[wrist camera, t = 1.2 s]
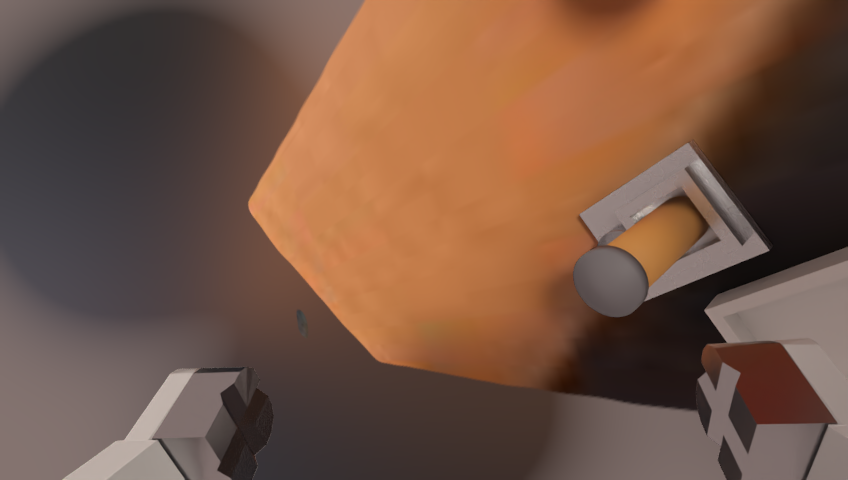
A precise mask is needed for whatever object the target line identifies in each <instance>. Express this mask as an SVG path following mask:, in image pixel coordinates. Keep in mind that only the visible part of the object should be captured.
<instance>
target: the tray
mask: <svg viewBox="0 0 848 480" xmlns="http://www.w3.org/2000/svg"><path fill="white" fill-rule="evenodd" d="M704 311H705V312H706V314H707V315H708V317H709V318H710V319H711V321H712V322H713V324H714V325H715V326H716V328H717V329H718V331H719V332H720V333H721V335H722V336H723V337H724V339H725V340H726V342H727V343H735V342H753V341H774V340H788V339H806V338H810V339H812V340H813V341H815V342H817V343H818V344H819V346H820V347H821V348H822V349H823V350H824V352H825V353H826V354H827V355H828V357H829V358H830V359H831V360H832V361H833V363H834V364H835V365H836V366H837V368H838V369H839V370H840V371H841V373H842V374H843V375H844V376H845V377H846V379H847V380H848V247H846V248H843V249H840V250H838V251H835V252H832V253H829V254H827V255H824V256H821V257H819V258H816V259H813V260H810V261H808V262H805V263H802V264H799V265H797V266H794V267H791V268H789V269H786V270H783V271H780V272H778V273H775V274H772V275H769V276H767V277H764V278H761V279H758V280H756V281H753V282H750V283H748V284H745V285H742V286H739V287H737V288H734V289H731V290H728V291H726V292H723V293H720V294H718V295H716V296H715V298H714V299H713V300H712V301H711V302H710V304H709V305H708V306H707V307H706V309H705V310H704Z"/></svg>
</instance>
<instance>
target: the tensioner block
mask: <svg viewBox="0 0 848 480" xmlns="http://www.w3.org/2000/svg"><path fill="white" fill-rule="evenodd" d="M678 196H684V197H689V198H690V199H691V201H692V202H693V204H694V205H695V206H696V208H697V209H698V210H699V212H700V213H701V214H702V216H703V217H704V218H705V220H706V221H707V222H708V224H709V227H708V230H707V232H706V233H705V234H704V235H703V236H702V237H701V238H700V239H699V240H698V241H697V242H696V243H695V244H694V245H693V246H692V247H691V248H690V249H689V250H688V251H687V252H686V253H685V254H684V255H683V256H682V257H681V258H680V259H678V260H677V261H676V262H675V263H674V264H673V265H672V266H671V267H670V268H669V269H668V270H667V271H666V272H665V273H664V274H663V275H662V276H661V277H660V278H659V279H658V280H657V281H656V282H654V283H653V284H652V285H651V286H650V287H649V290H648V294H647V297H646V299H645V300H644V301H647V300H649V299H651V298H654V297H656V296H659V295H661V294H664V293H666V292H669V291H671V290H674V289H676V288H679V287H681V286H684V285H686V284H688V283H691V282H693V281H696V280H698V279H701V278H703V277H706V276H708V275H711V274H713V273H716V272H718V271H721V270H723V269H725V268H728V267H730V266H733V265H735V264H738V263H740V262H743V261H745V260H748V259H750V258H753V257H755V256H758V255H760V254H762V253H765V252H767V251H770V249H771V248H772V247H773V245H772V243H771V242H770V241H769V239H768V238H767V237H766V235H765V234H764V233H763V231H762V230H761V229H760V227H759V226H758V225H757V223H756V222H755V221H754V219H753V218H752V217H751V216H750V214H749V213H748V212H747V210H746V209H745V208H744V206H743V205H742V204H741V202H740V201H739V200H738V198H737V197H736V196H735V194H734V193H733V192H732V190H731V189H730V188H729V186H728V185H727V184H726V183H725V181H724V180H723V179H722V177H721V176H720V175H719V173H718V172H717V171H716V169H715V168H714V167H713V165H712V164H711V163H710V161H709V160H708V159H707V157H706V156H705V155H704V154H703V152H702V151H701V150H700V148H699V147H698V146H697V144H696V143H695V142H694V140H691V141H690V142H688V143H687V144H685V145H684V146H682V147H681V148H679V149H678V150H676V151H675V152H673V153H672V154H670V155H669V156H667V157H665V158H664V159H662V160H661V161H659V162H658V163H656V164H655V165H653V166H652V167H650V168H649V169H647V170H646V171H644V172H643V173H641V174H640V175H638V176H637V177H635V178H634V179H632V180H631V181H629V182H628V183H626V184H625V185H623V186H622V187H620V188H619V189H617V190H615V191H614V192H612V193H611V194H609V195H608V196H606V197H605V198H603V199H602V200H600V201H599V202H597V203H596V204H594V205H593V206H591V207H590V208H588V209H587V210H585V211H584V212H582V213H581V214H579V215H580V216H581V218H582V219H583V221H584V222H585V224H586V225H587V226H588V228H589V229H590V231H591V232H592V233H593V235H594V236H595V238H596V239H597V241H598V246H603V245H608V244H609V243H610V242H612V241H613V240H614V239H616V238H617V237H618V236H620V235H621V234H622V233H624V232H625V231H626V230H628V229H629V228H630V227H632V226H633V225H634V224H636V223H637V222H638V221H640V220H641V219H642V218H644V217H645V216H646V215H648V214H649V213H650V212H652V211H653V210H654V209H656V208H657V207H658V206H660V205H661V204H662V203H664V202H665V201H667V200H668V199H670V198H673V197H678ZM598 246H597V247H598Z"/></svg>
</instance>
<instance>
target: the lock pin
mask: <svg viewBox="0 0 848 480" xmlns="http://www.w3.org/2000/svg"><path fill="white" fill-rule="evenodd" d="M708 227H709V224H708V222H707V221H706V220H705V218H704V217H703V216H702V214H701V213H700V212H699V210H698V209H697V208H696V206H695V205H694V204H693V202H692V201H691V199H690V198H689V197H684V196H678V197H673V198H670V199H668V200H667V201H665V202H664V203H662V204H661V205H660V206H658V207H657V208H656V209H654V210H653V211H652V212H650V213H649V214H648V215H646V216H645V217H644V218H642V219H641V220H640V221H638V222H637V223H636V224H634V225H633V226H632V227H630V228H629V229H628V230H626V231H625V232H624V233H622V234H621V235H620V236H618V237H617V238H616V239H614V240H613V241H612V242H610V243H609V244H608V245H603V246H598V247H595V248H593V249H591V250H590V251H588V252H587V253H586V254H584V255H583V256H581V257H580V258H579V260H578V261H577V262H576V264H575V267H574V272H573V279H574V284H575V287H576V289H577V292H578V293H579V295H580V297H581V298H582V299H583V301H584V302H585V303H586V304H587V305H588V306H590V307H591V308H592V309H594V310H595V311H597V312H599V313H601V314H603V315H606V316H610V317H623V316H626V315H629V314H631V313H632V312H634V311H635V310H636V309H637V308H638V307H639V306H640V305H641V304H642V303H643V302H644V300H645V299H646V297H647V294H648V290H649V287H650V286H651V285H652V284H653V283H654V282H656V281H657V280H658V279H659V278H660V277H661V276H662V275H663V274H664V273H665V272H666V271H667V270H668V269H669V268H670V267H671V266H672V265H673V264H674V263H675V262H676V261H677V260H678V259H680V258H681V257H682V256H683V255H684V254H685V253H686V252H687V251H688V250H689V249H690V248H691V247H692V246H693V245H694V244H695V243H696V242H697V241H698V240H699V239H700V238H701V237H702V236H703V235H704V234H705V233H706V232H707V230H708Z"/></svg>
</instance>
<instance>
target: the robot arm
mask: <svg viewBox="0 0 848 480" xmlns="http://www.w3.org/2000/svg"><path fill="white" fill-rule="evenodd" d="M701 362H702V364H703V366H704V368H705V370H706V373H705V374H704V375H702V376H701V377H700V378H699V379H698V380H697V388H696V400H697V409H698V413H699V416H700V420H701V423H702V425H703V428H704V430H705V432H706V435H707V436H708V437H709V438H710V439H712V440H713V441H714V442H716V443H717V444H718V445H720V446H721V448H720V453H719V457H718V462H719V464H720V466H721V469H722V471H723V473H724V475H725V478H726V480H848V380H847V379H846V377H845V376H844V375H843V374H842V373H841V371H840V370H839V369H838V368H837V366H836V365H835V364H834V363H833V361H832V360H831V359H830V358H829V357H828V355H827V354H826V353H825V352H824V350H823V349H822V348H821V347H820V346H819V344H818V343H817V342H815V341H813V340H812V339H810V338H806V339H788V340H774V341H753V342H735V343H718V344H707V345H706V346H705V348H704V349H703V353H702V358H701ZM259 381H260V379H259V377H258V376H257V374H256V372H255V371H254V368H249V367H227V368H226V367H223V368H197V369H178V370H176V371H174V372H173V373H171V374H170V375H169V376H168V378H167V379H166V381H165V382H164V384H163V385H162V386H161V388H160V390H159V391H158V392H157V394H156V395H155V396H154V398H153V399H152V401H151V402H150V404H149V405H148V407H147V408H146V410H145V411H144V412H143V414H142V415H141V417H140V418H139V420H138V421H137V422H136V424H135V425H134V427H133V428H132V430H131V431H130V433H129V434H128V435H127V437H126V439H125V440H123V441H116V442H114V443H113V444H111V445H110V446H109V447H107V448H106V449H104V450H103V451H102V452H100V453H99V454H97V455H96V456H95V457H94V458H92V459H91V460H89V461H88V462H86V463H85V464H84V465H82V466H81V467H79V468H78V469H77V470H75V471H74V472H72V473H71V474H70V475H68V476H67V477H65V478H64V479H63V480H252V479H253V476H254V474H255V471H256V469H257V467H258V465H257V462H256V458H255V454H257V453H258V452H259V451H260V450H261V449H262V448H263V447H264V446H265V445H267V442H268V440H269V437H270V434H271V431H272V424H273V416H274V415H273V410H272V404H271V402H270V400H269V398H268V396H267V395H266V394H264V393H263V392H262V391H260V390H259V389H257V386H258V383H259Z"/></svg>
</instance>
